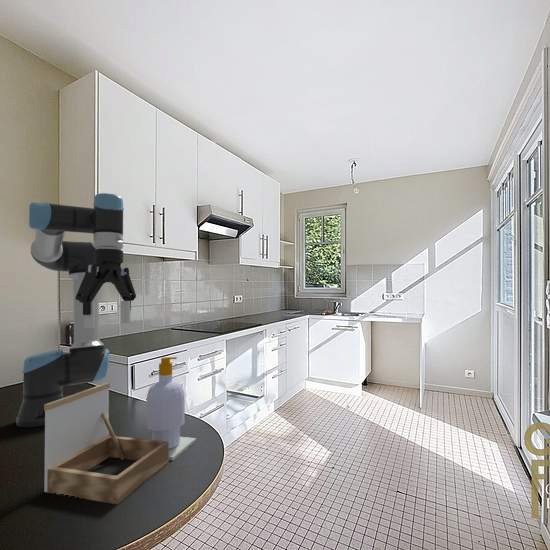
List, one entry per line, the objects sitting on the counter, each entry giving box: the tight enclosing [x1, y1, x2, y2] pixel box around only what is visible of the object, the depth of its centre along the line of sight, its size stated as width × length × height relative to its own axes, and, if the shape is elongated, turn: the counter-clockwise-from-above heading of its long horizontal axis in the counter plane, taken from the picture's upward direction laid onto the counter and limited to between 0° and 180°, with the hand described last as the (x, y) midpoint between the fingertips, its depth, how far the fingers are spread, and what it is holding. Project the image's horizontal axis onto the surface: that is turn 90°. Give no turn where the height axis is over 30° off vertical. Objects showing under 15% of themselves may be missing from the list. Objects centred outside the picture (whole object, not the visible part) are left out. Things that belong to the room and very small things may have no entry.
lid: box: [43, 382, 111, 493], centre depth 86 cm, size 1×19×19 cm, turn 164°
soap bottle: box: [146, 356, 186, 449], centre depth 97 cm, size 10×10×24 cm
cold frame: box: [47, 412, 170, 505], centre depth 83 cm, size 19×18×12 cm
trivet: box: [168, 436, 197, 461], centre depth 97 cm, size 12×12×1 cm
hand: (108, 325), depth 96 cm, fingers open, 13 cm apart
